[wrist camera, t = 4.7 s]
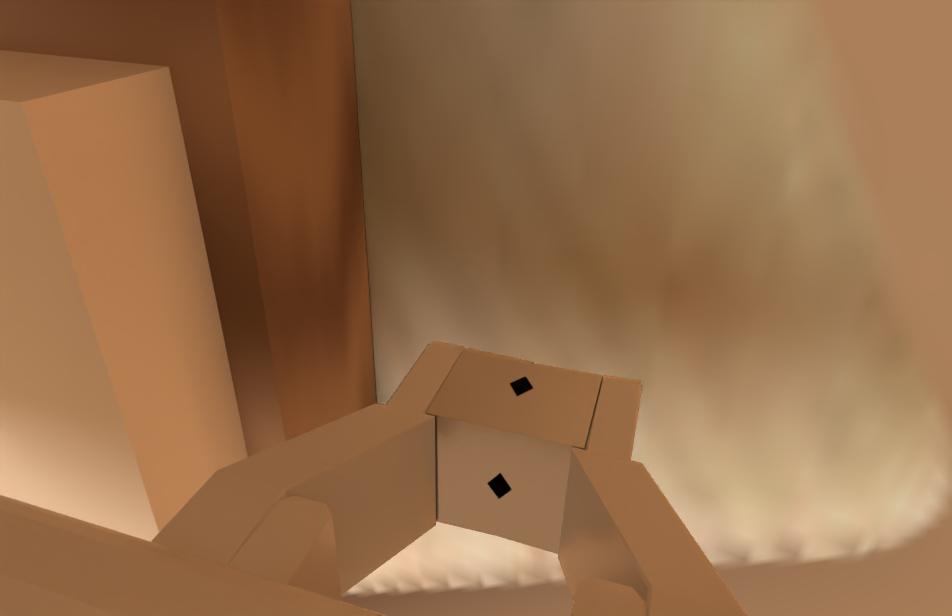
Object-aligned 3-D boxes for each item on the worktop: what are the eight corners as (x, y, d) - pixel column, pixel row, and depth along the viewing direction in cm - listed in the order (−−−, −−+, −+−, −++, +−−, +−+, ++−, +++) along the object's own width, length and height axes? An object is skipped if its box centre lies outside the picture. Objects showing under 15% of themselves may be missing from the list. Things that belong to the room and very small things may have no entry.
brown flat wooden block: (-178, -208, 14) (-460, -252, 10) (335, -224, 11) (167, -294, 7) (52, 396, 22) (-66, 478, 18) (381, 481, 19) (310, 598, 16)
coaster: (-124, 38, 11) (-313, 61, 9) (168, 66, 10) (21, 102, 8) (27, 404, 15) (-81, 478, 13) (249, 464, 14) (167, 558, 12)
